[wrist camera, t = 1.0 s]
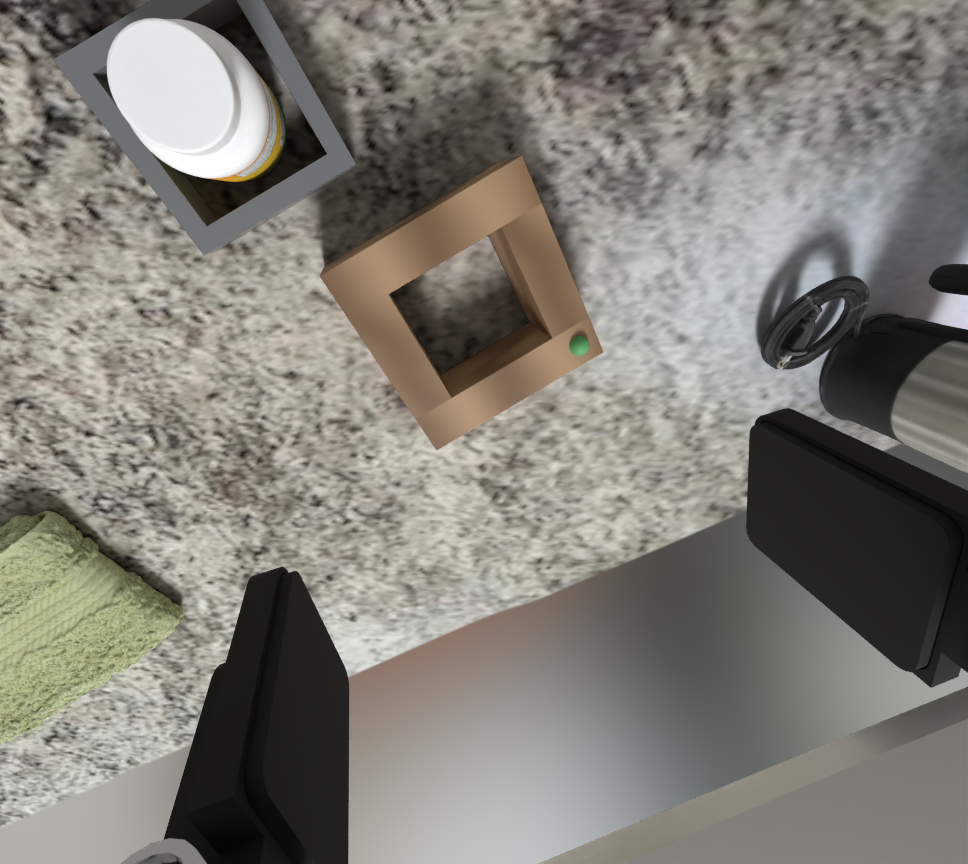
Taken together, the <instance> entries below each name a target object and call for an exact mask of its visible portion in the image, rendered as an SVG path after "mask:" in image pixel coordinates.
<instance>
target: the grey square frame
mask: <svg viewBox="0 0 968 864" xmlns="http://www.w3.org/2000/svg"><path fill="white" fill-rule="evenodd" d="M242 13H244V14H245V15H246V17H247V19H248V21H249V22H250V24H251V26H252V27H253V29H254V31H255V32H256V34H257V36H258V38H259V39H260V41H261V43H262V44H263V46H264V48H265V49H266V51H267V53H268V54H269V56H270V58H271V60H272V61H273V63H274V65H275V66H276V68H277V70H278V71H279V73H280V75H281V77H282V78H283V80H284V82H285V83H286V85H287V87H288V88H289V90H290V92H291V93H292V95H293V97H294V99H295V100H296V102H297V104H298V105H299V107H300V109H301V110H302V112H303V114H304V116H305V117H306V119H307V121H308V122H309V124H310V126H311V127H312V129H313V131H314V132H315V134H316V136H317V138H318V139H319V141H320V143H321V144H322V146H323V148H324V149H325V151H326V153H327V155H325V156H323V157H322V158H320V159H318V160H317V161H315V162H313V163H312V164H310V165H308V166H307V167H305V168H303V169H302V170H300V171H298V172H297V173H295V174H293V175H292V176H290V177H288V178H287V179H285V180H283V181H282V182H280V183H278V184H277V185H275V186H273V187H272V188H270V189H268V190H267V191H265V192H263V193H262V194H260V195H258V196H257V197H255V198H253V199H252V200H250V201H248V202H247V203H245V204H243V205H242V206H240V207H238V208H237V209H235V210H233V211H232V212H230V213H228V214H227V215H225V216H223V217H222V218H220V219H217V218H216V217H215V215H214V214H213V212H212V211H211V210H210V208H209V207H208V206H207V204H206V203H205V201H204V200H203V199H202V197H201V196H200V195H199V193H198V192H197V191H196V189H195V188H194V186H193V185H192V184H191V182H190V181H189V180H188V178H187V177H186V176H185V174H184V173H183V172H181V171H179V170H177V169H175V168H173V167H171V166H169V165H168V164H166V163H165V162H163V161H162V160H160V159H159V158H158V157H157V156H155V155H154V154H153V153H152V152H151V151H150V150H149V149H148V148H147V147H146V146H145V145H144V144H143V143H142V141H141V140H140V139H139V138H138V136H137V135H136V134H135V132H134V131H133V129H132V128H131V126H130V124H129V122H128V121H127V120H126V119H125V117H124V116H123V115H122V113H121V112H120V110H119V108H118V107H117V105H116V103H115V100H114V98H113V96H112V93H111V91H110V87H109V83H108V77H107V58H108V52H109V49H110V46H111V44H112V42H113V40H114V39H115V37H116V35H117V34H118V33H119V32H120V31H121V30H122V29H123V28H125V27H126V26H127V25H129V24H131V23H133V22H135V21H138V20H142V19H146V18H161V19H182V20H187V21H191V22H195V23H198V24H201V25H203V26H206V27H208V28H210V29H212V30H213V31H214V30H216V29H218V28H219V27H221V26H223V25H224V24H226V23H228V22H229V21H231V20H232V19H234V18H236V17H237V16H239V15H241V14H242ZM54 62H55V63H56V64H57V66H58V67H59V68H60V69H61V71H62V72H63V73H64V75H65V76H66V77H67V78H68V80H69V81H70V82H71V84H72V85H73V86H74V88H75V89H76V90H77V91H78V93H79V94H80V95H81V97H82V98H83V99H84V101H85V102H86V103H87V104H88V106H89V107H90V108H91V110H92V111H93V112H94V113H95V115H96V116H97V117H98V119H99V120H100V121H101V123H102V124H103V125H104V126H105V128H106V129H107V130H108V132H109V133H110V134H111V136H112V137H113V138H114V139H115V141H116V142H117V143H118V145H119V146H120V147H121V148H122V150H123V151H124V152H125V154H126V155H127V156H128V158H129V159H130V160H131V161H132V163H133V164H134V165H135V167H136V168H137V169H138V170H139V172H140V173H141V174H142V176H143V177H144V178H145V180H146V181H147V182H148V183H149V185H150V186H151V187H152V189H153V190H154V191H155V193H156V194H157V195H158V196H159V198H160V199H161V200H162V202H163V203H164V204H165V205H166V207H167V208H168V209H169V211H170V212H171V213H172V215H173V216H174V217H175V218H176V220H177V221H178V222H179V224H180V225H181V226H182V228H183V229H184V230H185V231H186V233H187V234H188V235H189V237H190V238H191V239H192V240H193V242H194V243H195V244H196V246H197V247H198V248H199V250H200V251H201V252H202V253H203V255H206V254H209V253H212V252H214V251H217V250H219V249H221V248H223V247H224V246H226V245H228V244H229V243H231V242H233V241H234V240H236V239H238V238H239V237H241V236H243V235H244V234H246V233H248V232H249V231H251V230H253V229H254V228H256V227H258V226H259V225H261V224H263V223H264V222H266V221H268V220H269V219H271V218H273V217H274V216H276V215H278V214H279V213H281V212H283V211H284V210H286V209H288V208H289V207H291V206H293V205H294V204H296V203H298V202H299V201H301V200H303V199H304V198H306V197H308V196H309V195H311V194H313V193H314V192H316V191H318V190H319V189H321V188H323V187H324V186H326V185H328V184H329V183H331V182H333V181H334V180H336V179H338V178H339V177H341V176H343V175H344V174H346V173H348V172H349V171H351V170H353V169H354V168H356V163H355V161H354V159H353V158H352V156H351V154H350V152H349V151H348V149H347V147H346V145H345V144H344V142H343V140H342V138H341V137H340V135H339V133H338V131H337V130H336V128H335V126H334V124H333V123H332V121H331V119H330V117H329V116H328V114H327V112H326V110H325V108H324V107H323V105H322V103H321V101H320V100H319V98H318V96H317V94H316V93H315V91H314V89H313V87H312V86H311V84H310V82H309V80H308V79H307V77H306V75H305V73H304V72H303V70H302V68H301V66H300V65H299V63H298V61H297V59H296V58H295V56H294V54H293V52H292V50H291V49H290V47H289V45H288V43H287V42H286V40H285V38H284V36H283V35H282V33H281V31H280V29H279V28H278V26H277V24H276V22H275V21H274V19H273V17H272V15H271V14H270V12H269V10H268V8H267V7H266V5H265V3H264V1H263V0H151V1H149V2H148V3H146V4H144V5H143V6H141V7H140V8H138V9H136V10H135V11H133V12H131V13H130V14H128V15H126V16H125V17H123V18H121V19H120V20H118V21H117V22H115V23H113V24H112V25H110V26H108V27H107V28H105V29H103V30H102V31H100V32H98V33H97V34H95V35H94V36H92V37H90V38H89V39H87V40H85V41H84V42H82V43H80V44H79V45H77V46H75V47H74V48H72V49H71V50H69V51H67V52H66V53H64V54H62V55H61V56H59V57H57V58H56V59H54Z"/></svg>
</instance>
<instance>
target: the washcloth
mask: <svg viewBox="0 0 968 864" xmlns="http://www.w3.org/2000/svg"><path fill="white" fill-rule="evenodd" d="M182 610H183V609H182V607H180V606H179V605H177V604H175V603H172V602H171V600H170V599H169V598H168V597H165V596H164V595H163V594H161V593H160V592H158V591H156V590H155V589H152V586H150V585H149V584H148V583H145V582H143V580H142V578H141V577H140V576H137V575H136V573H135V572H131V571H130V572H126V571H124V570H123V569H122V568H121V567H120V566H119V565H117V564H116V563H115V562H114V561H113V560H111V559H110V558H107V557H106V556H104V555H103V554H102V553H100V552H99V551H98V545H97V544H96V543H94V542H93V540H91V539H90V538H83V536H82V533H81V531H80V530H76V528H75V527H74V526H73V525H71V524H69V523H68V521H67V520H66V518H65V517H61V516H60V515H59V514H57V513H55V512H52V511H44V512H41V513H38V514H36V515H35V516H33V517H32V516H28V515H18V516H14V517H12V518H11V519H10V521H9V522H8V523H6V524H5V525H4V526H1V527H0V745H1V744H3V743H4V742H5V741H10V740H11V739H12V738H15V737H18V736H20V735H21V734H22V733H24V732H25V733H27V732H30V731H31V730H34V728H36V727H38V726H40V725H41V724H42V723H43V722H44V720H45V719H46V718H47V717H51V716H52V715H56V714H57V712H58V710H60V709H62V708H64V707H66V706H68V705H69V704H71V703H72V702H74V701H76V700H78V699H79V698H80V697H81V696H82V695H83V696H84V695H86V694H87V693H88V692H89V691H90V690H91V689H96V688H97V687H98V686H99V685H102V684H103V683H105V681H107V680H109V679H111V676H112V675H113V674H116V673H121V672H122V671H123V670H125V669H128V668H129V666H130V665H131V664H135V663H137V661H139V660H140V658H141V657H142V656H143V655H145V654H146V653H147V652H148V651H149V650H150V649H154V648H155V647H156V646H157V644H158V643H159V642H161V641H164V639H165V638H166V637H167V636H168V635H170V634H171V633H172V632H174V631H175V629H176V628H177V624H179V623H181V621H184V619H183V617H184V612H183V611H182Z"/></svg>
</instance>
